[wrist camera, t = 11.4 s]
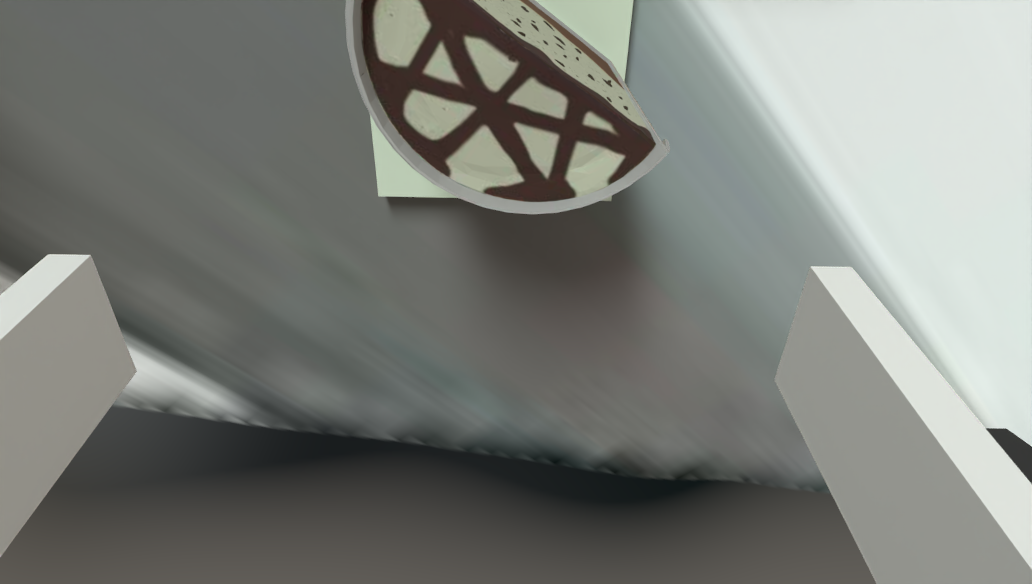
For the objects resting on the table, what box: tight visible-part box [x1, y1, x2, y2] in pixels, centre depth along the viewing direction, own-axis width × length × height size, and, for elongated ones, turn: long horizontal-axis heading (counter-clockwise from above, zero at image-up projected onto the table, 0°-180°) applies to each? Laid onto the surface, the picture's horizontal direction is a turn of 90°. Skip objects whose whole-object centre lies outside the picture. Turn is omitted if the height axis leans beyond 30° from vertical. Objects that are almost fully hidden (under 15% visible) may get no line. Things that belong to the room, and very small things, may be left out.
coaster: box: [370, 0, 633, 201], centre depth 30 cm, size 12×14×1 cm
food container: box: [345, 0, 670, 214], centre depth 26 cm, size 12×6×10 cm, turn 54°
